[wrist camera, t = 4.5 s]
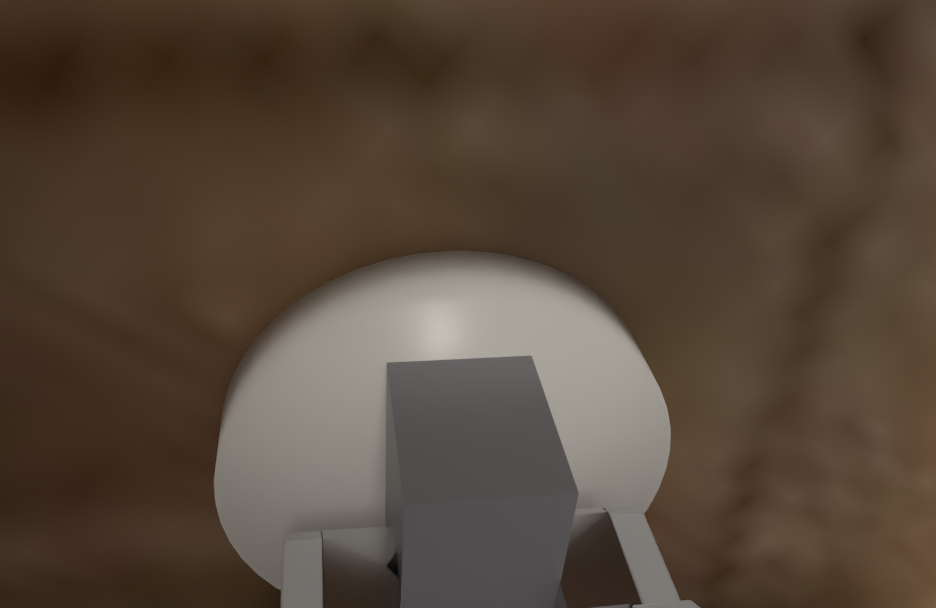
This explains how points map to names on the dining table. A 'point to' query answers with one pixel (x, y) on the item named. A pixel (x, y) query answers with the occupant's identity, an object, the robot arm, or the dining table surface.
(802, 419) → the dining table surface
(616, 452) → the cap
